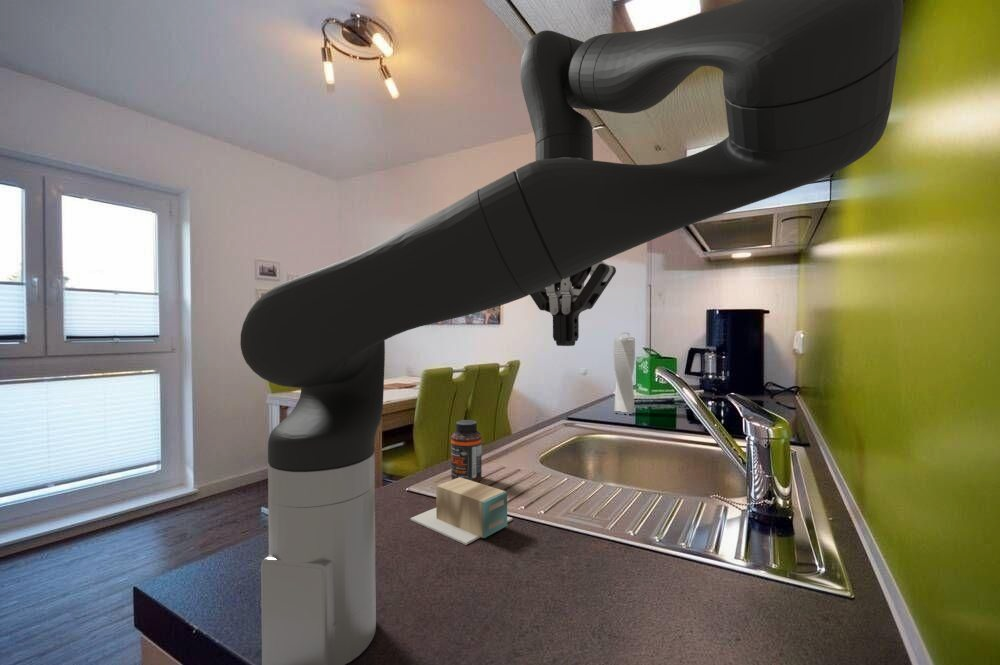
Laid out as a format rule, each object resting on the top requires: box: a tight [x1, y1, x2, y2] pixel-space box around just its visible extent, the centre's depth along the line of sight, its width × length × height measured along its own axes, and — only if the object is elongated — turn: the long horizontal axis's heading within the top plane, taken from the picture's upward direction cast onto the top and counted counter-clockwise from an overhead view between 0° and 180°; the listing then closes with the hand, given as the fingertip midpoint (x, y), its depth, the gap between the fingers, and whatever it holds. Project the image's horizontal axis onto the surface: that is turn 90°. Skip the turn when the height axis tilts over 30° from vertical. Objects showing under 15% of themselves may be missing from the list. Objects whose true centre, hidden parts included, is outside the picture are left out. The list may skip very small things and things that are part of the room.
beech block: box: [435, 477, 508, 539], centre depth 64 cm, size 5×5×10 cm
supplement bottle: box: [450, 419, 483, 483], centre depth 83 cm, size 6×6×11 cm
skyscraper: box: [612, 332, 636, 412], centre depth 148 cm, size 8×8×28 cm
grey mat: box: [410, 507, 513, 546], centre depth 66 cm, size 12×10×1 cm
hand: (565, 345), depth 53 cm, fingers closed
